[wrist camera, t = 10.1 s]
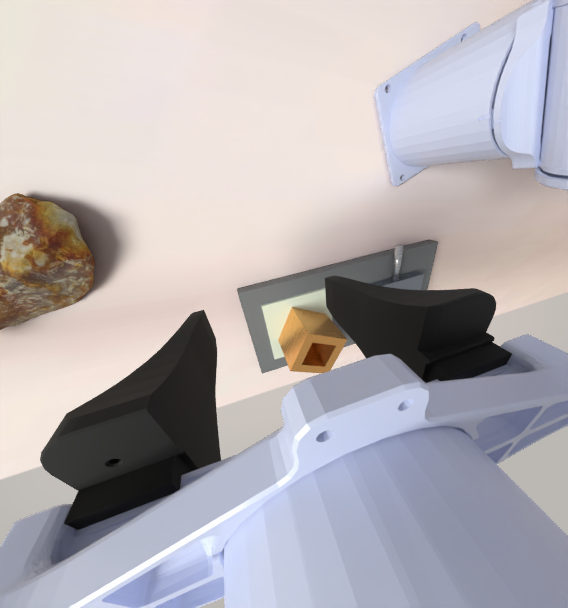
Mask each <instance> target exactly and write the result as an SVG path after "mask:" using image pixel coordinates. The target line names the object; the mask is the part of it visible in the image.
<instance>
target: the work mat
mask: <svg viewBox="0 0 568 608" xmlns="http://www.w3.org/2000/svg"><path fill="white" fill-rule="evenodd" d="M437 245H438V242H436V241H433V240H427V241H423V242H419V243H415V244H411V245H407V246H404V247H403V254H402V261H401V267H400V274H399V275H401V274H404V273H408V272H412V271H415V270H416V271H418V272H421V273H423V274H424V277H423V282H422V287H421V290H427V288H428V284H429V279H430V275H431V271H432V266H433V262H434V258H435V253H436V249H437ZM394 253H395V249H391V250H387V251H383V252H379V253H376V254H372V255H368V256H364V257H360V258H356V259H352V260H348V261H344V262H340V263H336V264H332V265H329V266H325V267H321V268H317V269H313V270H309V271H305V272H301V273H297V274H293V275H289V276H285V277H282V278H278V279H274V280H270V281H266V282H262V283H258V284H254V285H250V286H246V287H242V288H238V289H237V291H238V295H239V298H240V302H241V305H242V308H243V312H244V315H245V318H246V322H247V325H248V328H249V332H250V335H251V338H252V342H253V345H254V348H255V352H256V355H257V358H258V362H259V365H260V368H261V372H262V373H265V372H268V371H272V370H275V369H278V368H281V367H284V366H287V365H288V364H287V361H286V359H285V356H284V354H283V351H282V349H281V346H280V344H279V341H278V339H279V337H280V334H281V332H282V330H283V327H284V325H285V322H286V320H287V317H288V315H289V312H290V310H291V307H294V308H299V309H304V310H309V311H314V312H319V313H324V314H326V315H327V316H328V317H329V318H330V319H331V321H332V322H333V323H334V324H335V325H336V326H337V328H338V329H339V330H340V331H341V332H342V334H343V335H344V336H345V337H346V338H347V341H346V343H345V345H344V347H346V346H349V345H352V344H355V342H354V341H353V340H352V339H351V338H350V336H349V335H348V334H347V333H346V332H345V331H344V330H343V329H342V327H341V326H340V325H339V324H338V323H337V322H336V320H335V319H334V318H333V316H332V315H331V313H330V312H329V310H328V308H327V307H326V292H325V278H326V277H330V276H341V277H345V278H349V279H353V280H356V281H360V282H364V283H372V282H376V281H379V280H383V279H386V278H390V277H391V276H392V269H393V261H394Z"/></svg>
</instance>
